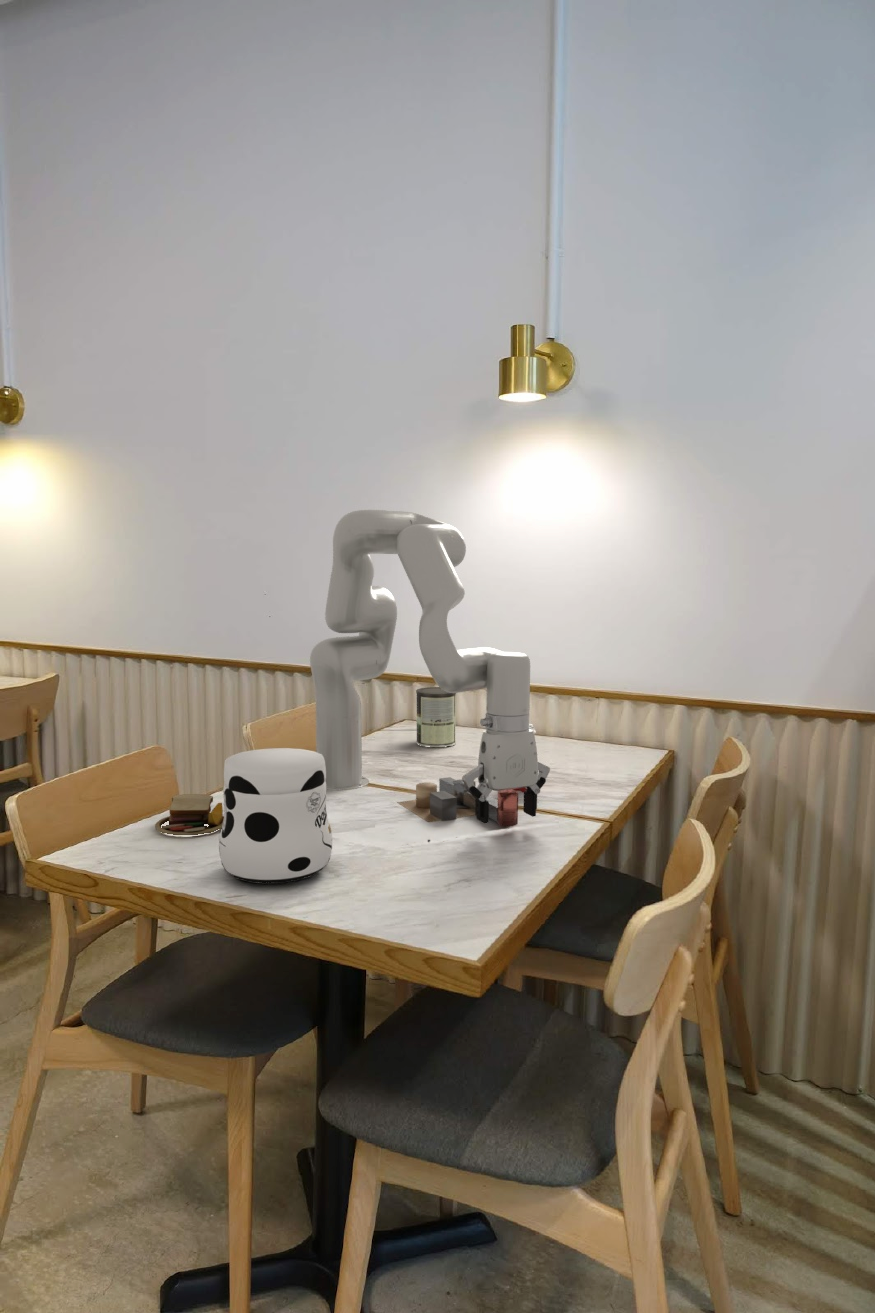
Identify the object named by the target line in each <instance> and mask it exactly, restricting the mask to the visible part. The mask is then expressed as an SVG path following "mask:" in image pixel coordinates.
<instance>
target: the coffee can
mask: <svg viewBox="0 0 875 1313" xmlns="http://www.w3.org/2000/svg"><path fill="white" fill-rule="evenodd" d="M415 691H416V692H415V694H416V742H417V744H419V745H421V746H430V747H445V746H446V747H445V748H448V747H447V746H451V747H454V746H455V745H456V713H457V712H456V706H457V705H456V702H457V701H456V699H457V698H456V695H457V693H449V692H446V691H444V690H443V689H441V688H440V687H439V686H429V687H428V686H427V687H421V688H417V689H416V690H415ZM417 744H416V745H417ZM453 745H454V746H453ZM421 746H420V747H421Z"/></svg>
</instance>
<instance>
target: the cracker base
mask: <svg viewBox="0 0 875 1313" xmlns="http://www.w3.org/2000/svg"><path fill="white" fill-rule="evenodd" d="M396 803H397V804H399V805H401V806H402V807H404V808H405V809H407V810H408V811H410V812H412V813H413V814H414V815H416V816H417V817H419V818H421V819H422V820H424V821H425V822H427V823H432V822H438V821H440V822H444V821H450V820H457V819H460V818H466V817H474V816H475V817H476V815H475V810H473V809H472V808H470V807H468V806H466V805H464V804H460V803H457V797H455V796H453V795H451V794H449V793H448V792H446V791H439V790H438V791H437V792H431V793H430V809H423V808H418V807H416V799H412V800H403V801H397V802H396Z"/></svg>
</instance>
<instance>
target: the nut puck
mask: <svg viewBox="0 0 875 1313" xmlns="http://www.w3.org/2000/svg"><path fill="white" fill-rule="evenodd" d="M431 792H438V785H437V784H436V783H433V782H421V783H417V784H415V800H416V807H418V808H423V809H430V793H431Z"/></svg>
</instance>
